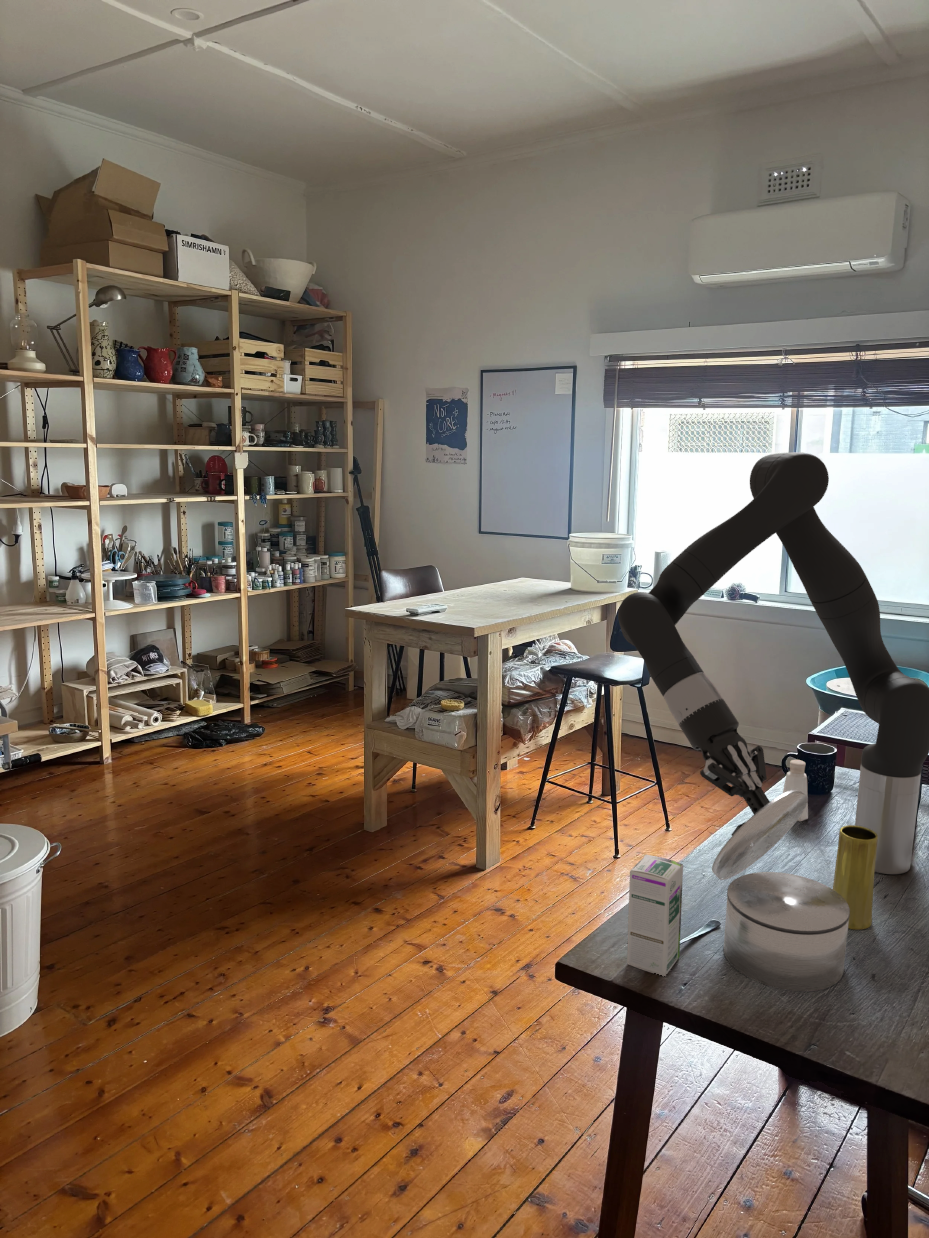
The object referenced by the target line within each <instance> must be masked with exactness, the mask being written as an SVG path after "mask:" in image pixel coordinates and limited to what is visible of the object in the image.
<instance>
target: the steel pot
mask: <svg viewBox="0 0 929 1238" xmlns="http://www.w3.org/2000/svg"><path fill="white" fill-rule="evenodd" d="M726 890H727V891H726V893H727V894H726V908H725V909H726V911H725V924H724V939H723V940H724V941H723V954H724V956H725V959H726V960H727V961H728V963H729V964H730V965H731V966H732V967H733V968H734V969H736V970H737V972H739V973H741V974H742V975H743V976H745V977H747V978H748V979H750V980H753V981H755V982H757V983H759V984H761V985H764V986H768V987H771V988H775V989H778V990H784V991H787V992H788V991H791V992H803V993H804V992H816V991H817V992H818V991H821V990H825V989H829V988H830V987H833V986H834V985H836V984H837V983H838V982H840V980H841V979H842V977H843V974H844V971H845V970H844V969H845V962H846V961H845V959H846V953H847V952H846V950H847V941H848V931H849V929H848V922H849V917H850V908H849V905H848V903H847V902H846V901H845V899H844V898H843V897H842V896H841V895H840V894H838V893H837V892H836V891H834V890H833V888H831V887H829V886H828V885H826V884H823V883H822V882H819V881H816V880H814V879H811V878H808V877H806V876H801V875H797V874H792V873H787V872H776V871H758V872H752V873H747V874H743V875H741V876H739V877H737V878H735V879H734V880H732V881H731V882H730V883H729V885H728V887H727V889H726Z"/></svg>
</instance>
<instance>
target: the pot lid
mask: <svg viewBox="0 0 929 1238" xmlns="http://www.w3.org/2000/svg"><path fill="white" fill-rule="evenodd" d="M807 796H808V795H807ZM807 796H806V795H805V794H804V793H803V792H802V791H801V790H800V789H792V790H790V791H787V792H785V793H783V792H782V794H780V795H778V796H777V797H775V798H773V799H772V800H771V801H770V802H769V803H768V804H766V805H765V806H764V807H763V808H761V809H760V810H759V811H758V812H757V813H755V814H753V815H752V816H751V817H750V818H749V819H747V820H746V821H745V822H743V823H740V824H739V825H737V826H736V828H735V829H734V830H733V832H732V833H731V837H730V838H729V839H728V840H727V841H726V843H725V844H724V845H723V846H722V847H721V849H720V851H719V853H718V854H717V855H716V857H715V858H714V861H713V862H712V866H711V871H712V873H713V874H714V876H716V878H717V879H718V880H720V881H725V880H728V879H731V878H733V877H735V876H737V875H739V874H740V873H742V872H744V871H745V870H747V869H748V868H749V867H751V866H752V865H753V864H755V863H757V862H758V860H760V859H762V858H763V856H765V854H767V853H768V852H769V851H771V850H772V849H773V847H774V846H776V845H777V843H779V842H780V841H781V840H782V839H783V837H785V835H786V834H787V833H788V832H789V831H790V830H791V829H792V828H793V826H794V825H795V824H796V822H798V821H797V820H798V818H799V817H800V816H801V814H802V813H803V811H804V809H805V807H806V805H807V802H809V797H807Z"/></svg>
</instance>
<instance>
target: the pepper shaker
mask: <svg viewBox="0 0 929 1238" xmlns="http://www.w3.org/2000/svg"><path fill="white" fill-rule="evenodd" d="M789 769H790V770H789V771H788V772H786V775H785V779H784V785H783V790H782V794H783V793H785V792H787V791H790V790H792V789H800V790H801V791H802V792H803V793H804V794H805V795H806V796H807V797H808V776H807V773H805V770H806V762H805V761H803V760H800V759H791V760H790V761H789ZM808 798H809V797H808ZM808 802H809V801H808ZM808 802H807V805H806V807H805V809H804V811H803V813H802V814H801V816H800V817H799V818H798V820H797V821H796V822H803V821H806V820H808V818H809V809H808V808H809V806H808V805H809V804H808Z"/></svg>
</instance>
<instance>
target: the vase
mask: <svg viewBox="0 0 929 1238" xmlns="http://www.w3.org/2000/svg"><path fill="white" fill-rule="evenodd" d="M877 842H878V835H877V834H876V833H875V832H874V831H872V830H870V829H868V828H865V827H862V826H855V824H854V825H852V824H850V825H844V826H841V828H840V829H839V832H838V844H837V850H836V858H835V866H834V873H833V874H834V875H833V876H834V877H833V883H832V889H833V890H834V891H836V892H837V893H838V894H840V895H841V896H842V897H843V898H844V899H845V901H846V902H847V903H848V905H849V908H850V917H849V922H848V930H853V931H854V930H855V931H858V930H859V931H860V930H865V929H868V928H870V927H871V926H872V924H873V903H874V902H873V901H874V898H873V897H874V884H875V873H876V872H875V861H876V852H877Z"/></svg>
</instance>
